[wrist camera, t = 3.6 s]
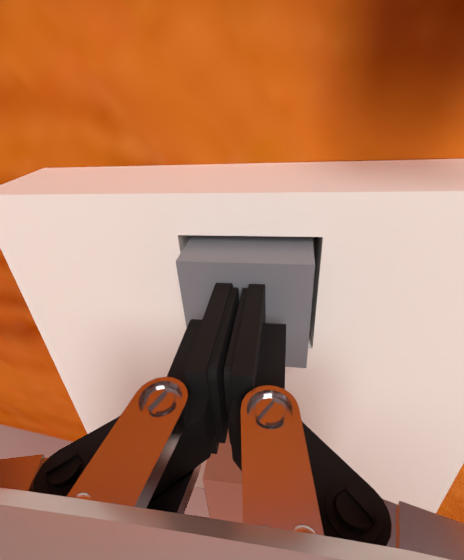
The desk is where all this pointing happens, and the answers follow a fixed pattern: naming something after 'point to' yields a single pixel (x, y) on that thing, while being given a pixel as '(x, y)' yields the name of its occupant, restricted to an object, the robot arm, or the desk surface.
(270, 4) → the desk surface
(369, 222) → the key console
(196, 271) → the grey key
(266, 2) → the desk surface
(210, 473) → the terracotta key
